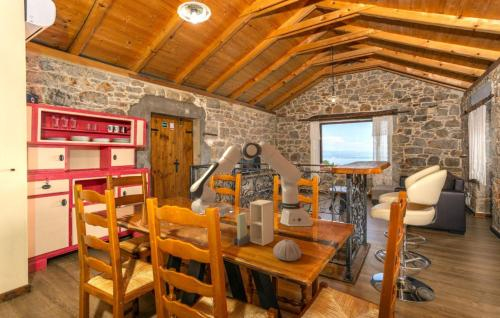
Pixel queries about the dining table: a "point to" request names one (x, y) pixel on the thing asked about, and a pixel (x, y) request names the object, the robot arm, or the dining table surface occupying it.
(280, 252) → the sea urchin shell
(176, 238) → the dining table surface
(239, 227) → the door
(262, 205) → the cabinet
